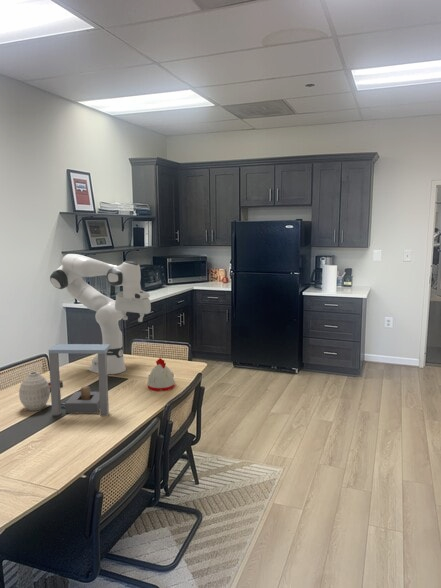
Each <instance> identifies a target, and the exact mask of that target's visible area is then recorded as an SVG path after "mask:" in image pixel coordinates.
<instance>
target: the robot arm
mask: <svg viewBox="0 0 441 588" xmlns="http://www.w3.org/2000/svg"><path fill="white" fill-rule="evenodd" d="M141 273H142V272H141V266H140V264H139V263H138V262H137V261H134V260H125V261H123V262H122V263H121V264H119V265H118V264H117V265H116V264H112V263H108V262H104V261H101V260H99V259H95V258H92V257H89V256H87V255H86V256H85V255H83V254H78V253H67V254H65V255H64V256H63V257H62V259H61V265H60V266H59V267H58V268H57V269H55V271H53V272H52V273H51V274H50V276H49V281H50V283H51V285H53V287H54V288H57V289H59V290H63V289H66V290H67V292H68V293H69V294H70V296H72V297H73V298H74V299H76V301H77V302H79V303H80V304H81V305H83V306H84V307H85V308H87V309H89V310H91V311H94V312H95V314H94V315H95V316H94V317H95V321H96V323H98V324H99V327H100V331H101V336H102V337H101V338H102V339H101V340H102V344H110V348H109V350H108V351H107V375H115V374H116V375H117V374H121V373H123V372H125V371H127V367H126V364H125V359H124V357H125V356H124V350H125V349H124V344H123V331H121V329H120V326H119V321H121V320H123V321H128V316H127V313H137V314H139V317H138V318H137V321H138V323H143V318H144V317H145V315H148V314H150V313H151V311H152V310H151V309H152V306H151V304H152V303H151V299H150V296H151V295H150V293H149V292H147V291H145V290H143V289H142V286H141V281H142V280H141V279H142V275H141ZM99 276H106V280H107V283H108V284H109V286H112V287H121V286H122V292H117V293H116V295H115V300H114V299H113V298H111V297H109V296H107V295H105V294H102V293H101V291H98V289H96V288H94V287H93V286H92V285H90V283H87V282H86V281H85V280H84V279H83V278H92V277H99ZM87 371H89V372H92V373H94V374H95V373H96V374H98V375H99V372H98V354H97V355H96V356H95V357H94V358H93V359H92V361H91V365H90V366H88V367H87Z"/></svg>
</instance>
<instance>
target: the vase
mask: <svg viewBox="0 0 441 588" xmlns="http://www.w3.org/2000/svg"><path fill="white" fill-rule="evenodd" d="M47 381H48V380H47V379H46V378H45V377H44V376H43V375H41V374H40V373H39V372H38V371H30V372H29V373H28V375H27V376H26V377H25V378H24V379H23V380H22V382H21V384H20V386H19V389H18V394H19V395H18V396H19V397H18V398H19V401H20V403H21V404H22V405H23V407H24V408H26V409H27V411H30V412H31V411H32V412H35V411H40V410H42V409H43V408H44V407H45V406H46V405H47V404H48V401H49V399H50V397H51V392H50V388H49V384H48V382H47Z"/></svg>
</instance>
